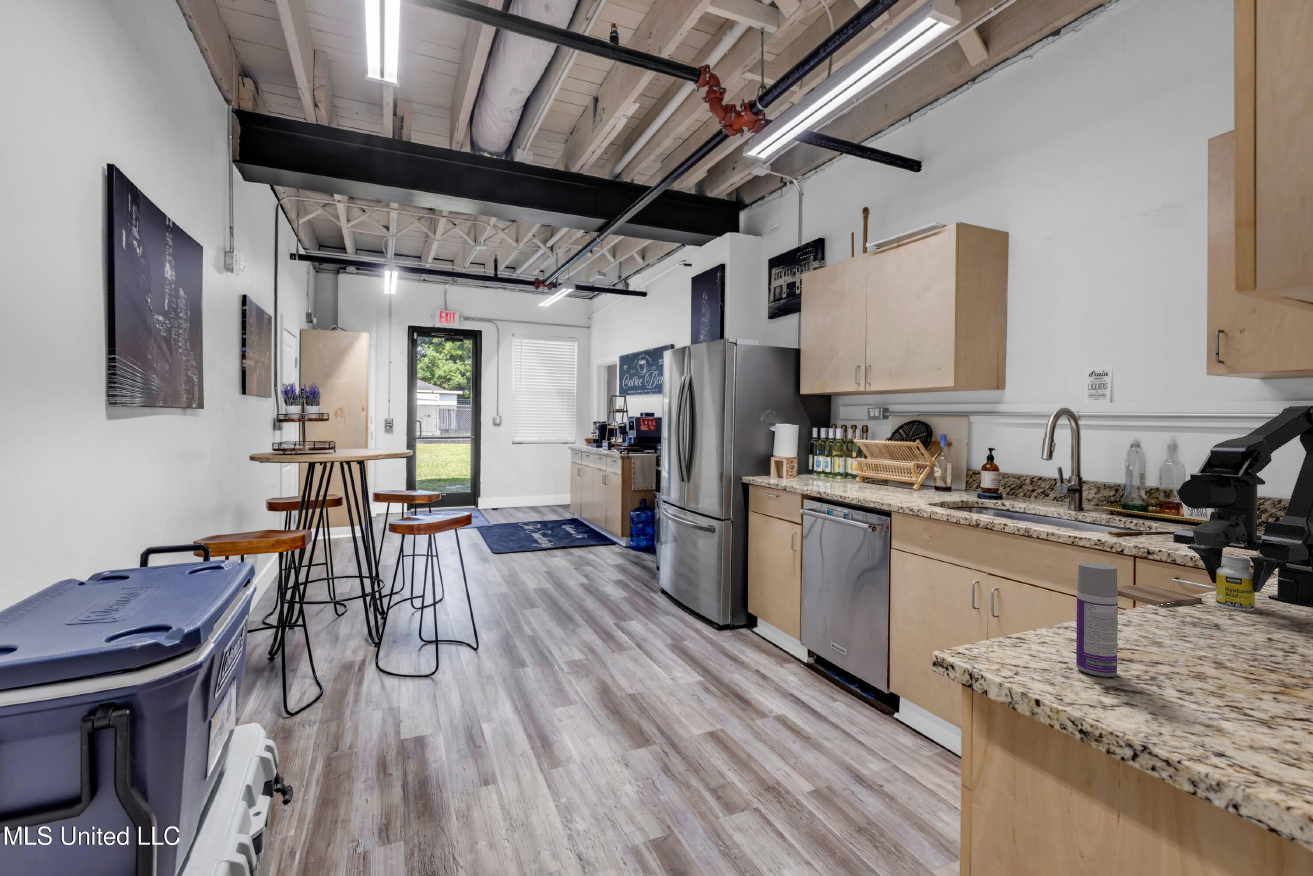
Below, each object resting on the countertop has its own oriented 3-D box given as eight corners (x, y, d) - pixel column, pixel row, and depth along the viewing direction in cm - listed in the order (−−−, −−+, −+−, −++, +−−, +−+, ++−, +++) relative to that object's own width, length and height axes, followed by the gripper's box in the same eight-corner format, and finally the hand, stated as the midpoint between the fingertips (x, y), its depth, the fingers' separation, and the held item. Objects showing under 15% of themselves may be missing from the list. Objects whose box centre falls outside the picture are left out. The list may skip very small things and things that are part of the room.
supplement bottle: (1221, 609, 113) (1222, 559, 113) (1211, 602, 118) (1211, 554, 117) (1260, 614, 110) (1260, 562, 110) (1247, 606, 115) (1248, 557, 115)
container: (1077, 661, 87) (1078, 560, 87) (1117, 669, 84) (1118, 565, 84) (1074, 670, 83) (1075, 566, 83) (1116, 679, 80) (1117, 571, 80)
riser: (1144, 591, 128) (1144, 584, 128) (1201, 605, 117) (1201, 598, 117) (1104, 594, 125) (1105, 587, 125) (1160, 609, 114) (1160, 601, 114)
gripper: (1153, 503, 121) (1152, 578, 121) (1267, 515, 103) (1266, 604, 103) (1193, 501, 124) (1192, 575, 124) (1310, 513, 105) (1309, 599, 106)
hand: (1235, 587), depth 114 cm, fingers open, 6 cm apart
